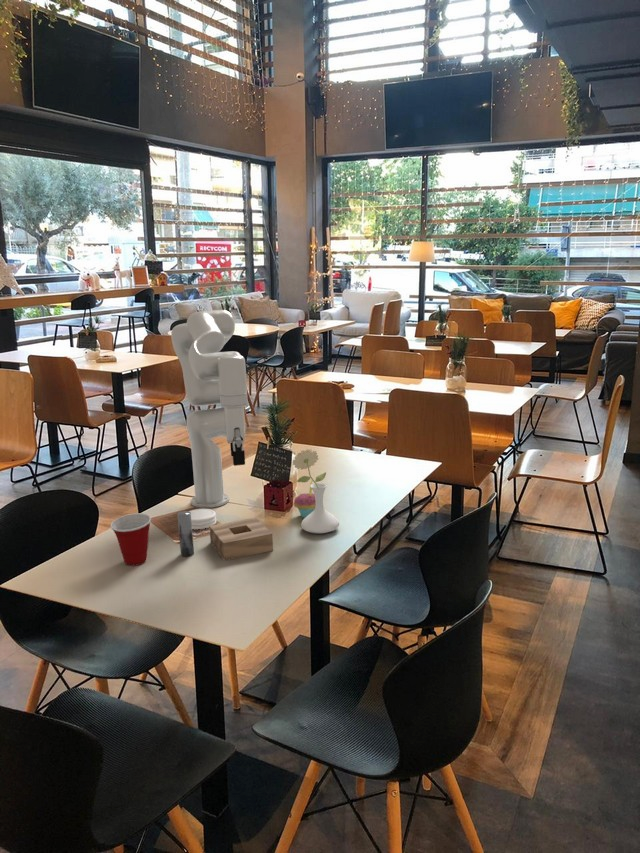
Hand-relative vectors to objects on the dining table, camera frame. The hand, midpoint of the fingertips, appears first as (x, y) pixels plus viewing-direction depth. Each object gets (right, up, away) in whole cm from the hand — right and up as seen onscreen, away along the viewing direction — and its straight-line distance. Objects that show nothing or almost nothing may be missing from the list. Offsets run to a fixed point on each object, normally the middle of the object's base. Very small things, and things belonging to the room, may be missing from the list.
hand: (238, 460), depth 196 cm
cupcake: (+19, -19, +24) cm, 36 cm away
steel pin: (-14, -26, -2) cm, 29 cm away
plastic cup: (-27, -28, -5) cm, 39 cm away
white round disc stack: (-14, -21, +20) cm, 33 cm away
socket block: (+1, -24, +2) cm, 25 cm away
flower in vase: (+22, -21, +12) cm, 33 cm away
